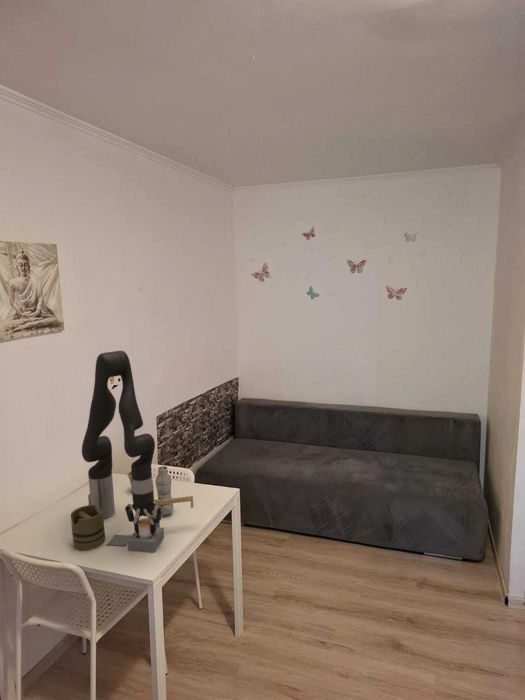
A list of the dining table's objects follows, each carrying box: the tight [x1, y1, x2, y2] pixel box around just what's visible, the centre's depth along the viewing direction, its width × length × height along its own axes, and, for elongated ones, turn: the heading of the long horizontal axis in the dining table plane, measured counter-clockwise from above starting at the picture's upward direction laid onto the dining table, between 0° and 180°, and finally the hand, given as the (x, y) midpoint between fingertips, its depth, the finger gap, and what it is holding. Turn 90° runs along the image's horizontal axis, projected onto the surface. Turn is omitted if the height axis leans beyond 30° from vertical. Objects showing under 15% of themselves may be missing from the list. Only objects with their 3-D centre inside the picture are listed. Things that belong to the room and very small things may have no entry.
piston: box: [70, 504, 106, 552], centre depth 180 cm, size 11×12×11 cm
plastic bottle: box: [154, 465, 174, 516], centre depth 200 cm, size 6×7×20 cm
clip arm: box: [154, 495, 194, 509], centre depth 187 cm, size 3×16×4 cm, turn 101°
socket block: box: [126, 509, 165, 553], centre depth 180 cm, size 10×15×11 cm, turn 171°
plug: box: [138, 517, 153, 539], centre depth 178 cm, size 5×5×9 cm
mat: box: [106, 534, 132, 547], centre depth 181 cm, size 7×7×1 cm
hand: (145, 532), depth 178 cm, fingers closed on plug, 5 cm apart
